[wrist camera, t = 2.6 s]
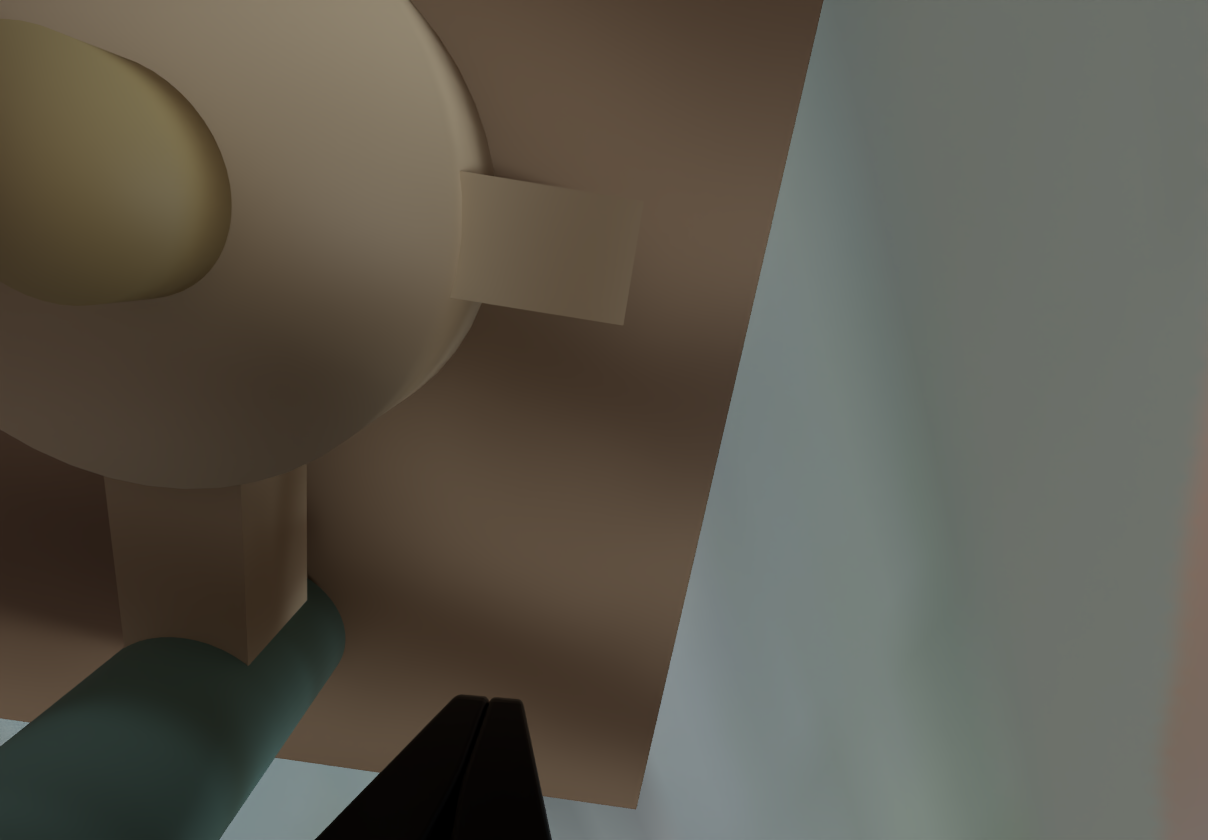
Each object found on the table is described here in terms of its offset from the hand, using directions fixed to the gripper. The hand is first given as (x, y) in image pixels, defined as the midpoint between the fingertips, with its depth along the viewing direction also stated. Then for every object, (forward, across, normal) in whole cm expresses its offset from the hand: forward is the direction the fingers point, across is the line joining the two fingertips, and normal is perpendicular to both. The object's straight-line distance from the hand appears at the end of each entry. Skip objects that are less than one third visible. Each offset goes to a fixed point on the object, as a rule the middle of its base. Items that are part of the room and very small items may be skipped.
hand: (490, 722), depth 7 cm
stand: (+4, +5, -5) cm, 8 cm away
